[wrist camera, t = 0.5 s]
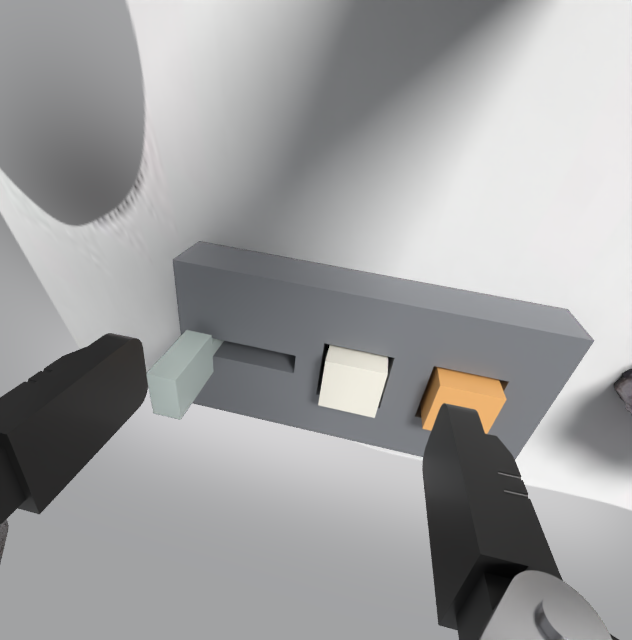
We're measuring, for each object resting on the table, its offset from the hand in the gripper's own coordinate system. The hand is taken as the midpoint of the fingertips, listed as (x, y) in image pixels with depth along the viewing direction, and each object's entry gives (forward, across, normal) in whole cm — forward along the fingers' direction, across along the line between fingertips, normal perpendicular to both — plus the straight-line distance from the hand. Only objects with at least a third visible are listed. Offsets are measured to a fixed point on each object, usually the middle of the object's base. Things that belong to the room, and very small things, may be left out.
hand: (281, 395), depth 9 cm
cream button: (+18, -2, +10) cm, 20 cm away
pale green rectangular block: (+19, +10, +10) cm, 24 cm away
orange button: (+18, -10, +10) cm, 23 cm away
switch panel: (+19, -2, +10) cm, 22 cm away
